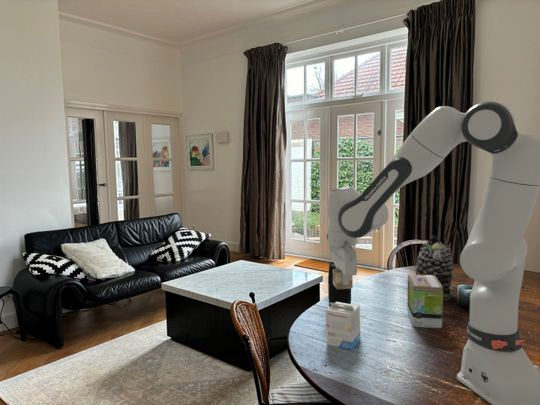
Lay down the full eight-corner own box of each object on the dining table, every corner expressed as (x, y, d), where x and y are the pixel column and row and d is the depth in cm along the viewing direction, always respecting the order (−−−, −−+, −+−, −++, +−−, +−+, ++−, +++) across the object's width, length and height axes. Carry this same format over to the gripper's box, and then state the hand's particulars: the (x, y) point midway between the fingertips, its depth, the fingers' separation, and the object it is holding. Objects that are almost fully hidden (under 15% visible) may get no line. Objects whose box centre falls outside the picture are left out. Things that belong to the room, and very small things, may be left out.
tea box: (443, 329, 138) (443, 286, 136) (412, 327, 140) (412, 286, 138) (434, 312, 153) (435, 273, 151) (406, 311, 155) (406, 273, 153)
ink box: (361, 339, 132) (360, 300, 131) (351, 350, 125) (351, 308, 124) (336, 334, 137) (335, 296, 135) (326, 344, 130) (325, 304, 128)
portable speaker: (350, 308, 159) (350, 259, 157) (352, 318, 150) (351, 266, 148) (328, 308, 160) (327, 259, 158) (328, 317, 151) (327, 266, 149)
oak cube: (352, 288, 127) (352, 272, 126) (336, 289, 126) (336, 273, 126) (348, 283, 132) (348, 268, 131) (333, 284, 131) (332, 269, 131)
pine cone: (460, 303, 160) (461, 241, 157) (420, 302, 163) (420, 241, 160) (446, 286, 180) (447, 231, 178) (411, 286, 183) (411, 231, 180)
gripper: (362, 245, 117) (362, 291, 119) (343, 232, 137) (344, 271, 139) (340, 246, 117) (341, 292, 118) (325, 232, 137) (325, 272, 138)
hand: (342, 281), depth 129 cm, fingers closed on oak cube, 5 cm apart
